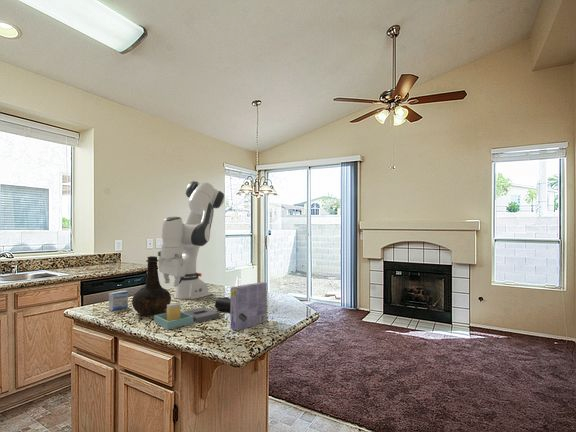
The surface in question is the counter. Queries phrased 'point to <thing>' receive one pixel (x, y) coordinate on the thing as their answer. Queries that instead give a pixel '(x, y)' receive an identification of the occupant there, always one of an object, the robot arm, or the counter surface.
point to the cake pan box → (248, 305)
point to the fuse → (173, 311)
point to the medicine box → (118, 300)
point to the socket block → (202, 314)
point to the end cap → (223, 304)
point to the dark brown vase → (151, 292)
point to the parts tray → (162, 320)
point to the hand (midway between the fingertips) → (171, 284)
